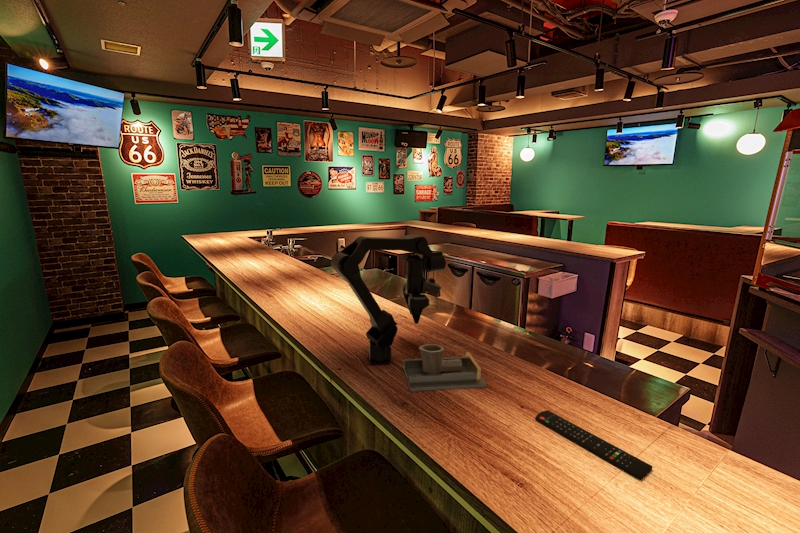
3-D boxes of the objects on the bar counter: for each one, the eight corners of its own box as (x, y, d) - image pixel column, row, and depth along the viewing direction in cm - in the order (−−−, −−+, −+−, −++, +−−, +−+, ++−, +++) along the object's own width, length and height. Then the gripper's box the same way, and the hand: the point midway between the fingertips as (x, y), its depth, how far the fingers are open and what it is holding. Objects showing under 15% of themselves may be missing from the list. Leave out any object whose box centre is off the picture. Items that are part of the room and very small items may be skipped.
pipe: (462, 377, 109) (464, 352, 107) (418, 377, 109) (419, 351, 107) (459, 367, 115) (460, 343, 113) (417, 367, 115) (418, 342, 113)
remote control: (639, 483, 72) (640, 477, 72) (532, 421, 91) (533, 416, 91) (651, 472, 75) (652, 466, 75) (545, 414, 94) (546, 409, 94)
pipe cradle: (410, 391, 103) (410, 374, 102) (403, 367, 117) (403, 352, 116) (486, 387, 106) (487, 370, 105) (471, 364, 119) (472, 349, 118)
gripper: (446, 279, 114) (444, 328, 117) (433, 267, 132) (431, 309, 136) (410, 280, 113) (409, 329, 116) (402, 267, 131) (401, 310, 134)
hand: (414, 318), depth 125 cm, fingers open, 9 cm apart
